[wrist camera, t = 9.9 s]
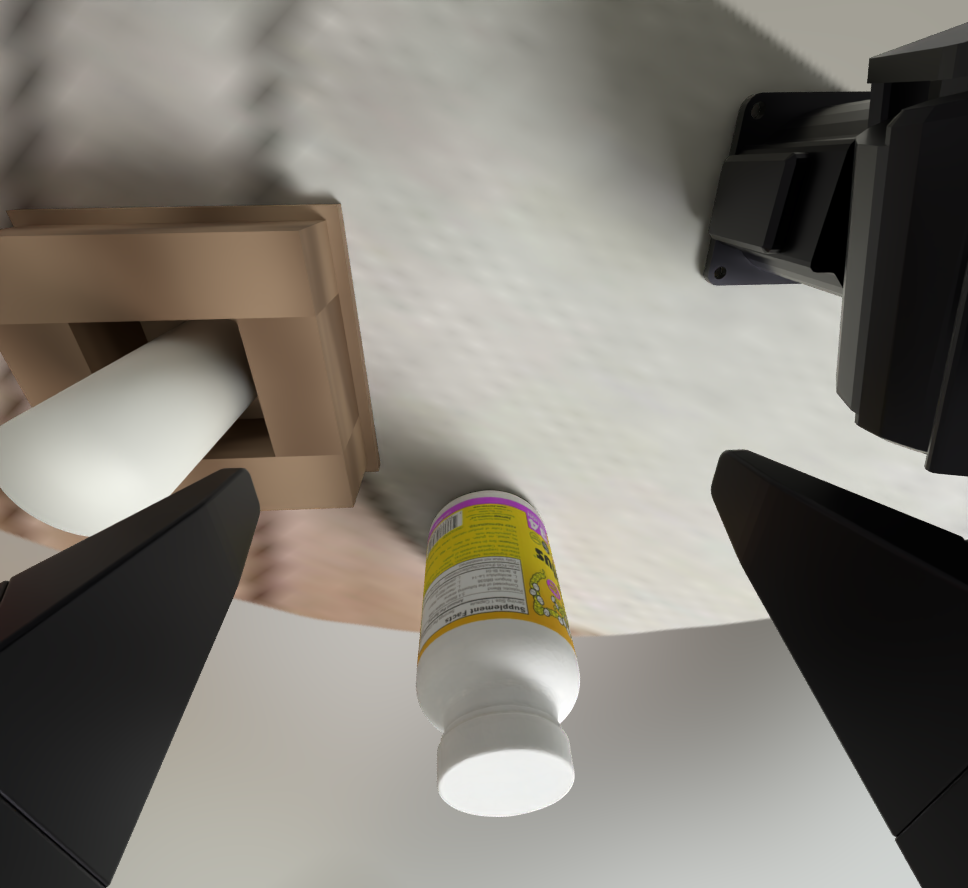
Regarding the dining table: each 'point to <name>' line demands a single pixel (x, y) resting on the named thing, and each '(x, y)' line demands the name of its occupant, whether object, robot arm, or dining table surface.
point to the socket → (206, 295)
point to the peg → (127, 429)
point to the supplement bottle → (496, 658)
